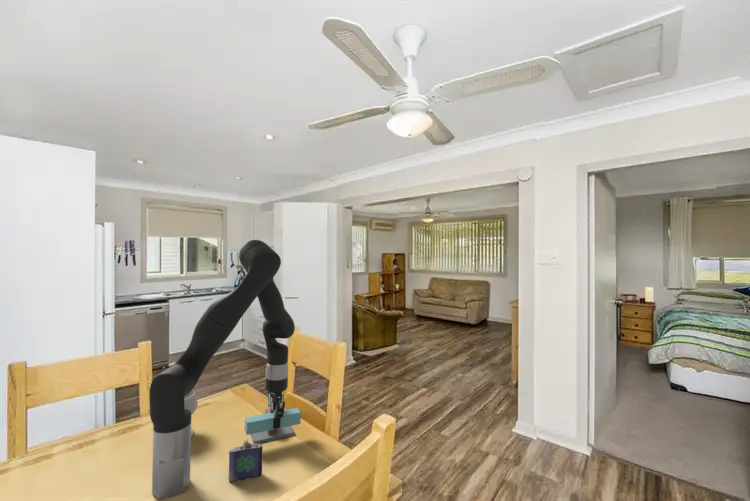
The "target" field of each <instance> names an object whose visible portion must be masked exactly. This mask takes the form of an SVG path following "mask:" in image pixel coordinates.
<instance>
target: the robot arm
mask: <svg viewBox="0 0 750 501" xmlns="http://www.w3.org/2000/svg"><path fill="white" fill-rule="evenodd" d="M238 253H239V254H238V259H239V262H240V264H241V266H242V267H243V269H244V270H245V271H246V274H245V276H244V277H243V279H242V281H241V282H240V283H239V284H238V286H237V287H236V288H235V289H233V290H232V291H230V292H229V293H227V294H225V295H222V296H221V297H218V298H217V299H216V300H214V301H213V302H212V303H210V305H209V306H208V307H207V309H206V310H205V311H204V312H203V314H202V316H201V317H200V319H199V320H198V322H197V323H196V325H195V327H194V330H193V334H192V336H191V340H190V343H189V344H188V347H187V348H186V350H185V351H184V352H183V353H182V355H181V356H180V357H179V358H178V359H177V361H175V363H174V364H172V365H171V366H170V367H169V368H166V369H165V370H163V371H162V372H160V373H158V374H157V375H155V377H154V378H153V379H152V380H151V383H150V387H149V399H148V400H149V417H150V420H151V422H152V426H153V429H152V432H153V435H152V472H151V473H152V474H151V476H152V477H151V478H152V480H151V481H152V482H151V485H152V486H151V494H152V495H153V496H155V497H156V499H157V500H162V499H165V498H169V497H173V496H176V495H179V494H183V493H184V492H185V490H186V489H187V488H189V485H190V482H191V452H192V448H191V443H192V439H191V438H192V437H191V429H192V415H191V412H190V411H189V410H188V409H185V405H184V397H185V396H186V395H187V394H188V393H190V392H191V391H192V390H193V389H194V388H195V386H196V385H197V383H198V382H199V379H200V378H201V376H202V374H203V372H204V371H205V369H206V367H207V365H208V364H209V362H210V360H211V359H212V358H213V356H214V355H215V354H216V353H217V352H218V351H219V349H220V348H221V347H222V346H223V344H224V343H225V341H226V340H227V339H228V338H229V336H230V335H231V334H232V332H233V331H234V329H235V328H236V326H237V325H238V323H239V322H240V320H241V319H242V317H243V316H244V314H245V313H246V311H247V310H248V309H249V307H250V306H251V305H252V304H253V303H254V301H255V300H256V299H258V303H259V306H260V309H261V312H262V316H263V317H264V321H263V323H262V333H263V337H264V342H265V346H266V366H265V382H264V389H265V391H266V392H267V397H268V398H267V400H268V402H267V404H268V405H267V407H268V409H269V410H270V411H271V412H270V413H274V416H273V417H274V423H273V427H274V429H277V428H280V422H281V417H283V414H284V410H285V407H286V402H285V401H284V395H283V392H284V391H287V389H288V383H289V347H288V345H286V344H283V343H281V342H279V341H277V339H285V340H286V339H289V338H291V337H292V336H293V335H294V333H295V330H296V329H295V328H296V326H295V322H294V320H293V318H292V316H291V315H290V314H289V312H288V311H287V309H286V308H285V304H284V300H283V297H282V294H281V293H280V290H279V289H278V287H277V285H276V283H275V280H274V278H275V276H276V274H277V273H278V271H279V270H280V267H281V265H282V264H281V263H282V259H281V257H280V255H279V254H278V253H277V252H276V251H275V250H274V249H273V248H271V246H270V245H268V244H267V243H265V242H264V241H262V240H260V239H252V240H248V241H247V242H245V243H244V244H243V245H242V246H241V247H240V251H239V252H238Z"/></svg>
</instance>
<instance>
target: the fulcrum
mask: <svg viewBox="0 0 750 501" xmlns="http://www.w3.org/2000/svg"><path fill="white" fill-rule="evenodd" d="M269 409H270V408H265V410H264V411H265V412H264V414H267V413H270V412H271V411H270V410H269ZM293 436H295V430H294V429H293V427H292V426H288V427H283V428H278V429H273V430H269V431H264V432H259V433H255V434H250V437H251V440H252V443H253V444H255V443H257V444H262V443H266V442H270V441H274V440H278V439H284V438H288V437H293Z"/></svg>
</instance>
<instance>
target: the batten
mask: <svg viewBox="0 0 750 501" xmlns="http://www.w3.org/2000/svg"><path fill="white" fill-rule="evenodd" d="M301 414H302V413H301V411H300V410H299V408H298V407H293V408H291V409H290V408H289V409H284V414H283V417H281V422H280V428H283V427H288V426H291V427H292V426H297V425H300V424H301V419H302V415H301ZM273 416H274V413H267V414H265V413H263V414H256V415H253V416H247V417H245V418H244V432H245V434H246V436H249V435H250V434H255V433H259V432H264V431H269V430H273V429H274V427H273V423H274V417H273ZM277 429H278V428H277ZM250 436H251V435H250Z"/></svg>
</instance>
